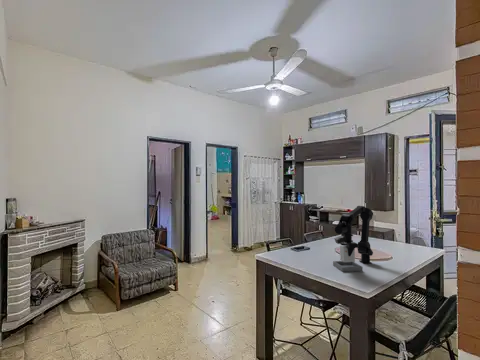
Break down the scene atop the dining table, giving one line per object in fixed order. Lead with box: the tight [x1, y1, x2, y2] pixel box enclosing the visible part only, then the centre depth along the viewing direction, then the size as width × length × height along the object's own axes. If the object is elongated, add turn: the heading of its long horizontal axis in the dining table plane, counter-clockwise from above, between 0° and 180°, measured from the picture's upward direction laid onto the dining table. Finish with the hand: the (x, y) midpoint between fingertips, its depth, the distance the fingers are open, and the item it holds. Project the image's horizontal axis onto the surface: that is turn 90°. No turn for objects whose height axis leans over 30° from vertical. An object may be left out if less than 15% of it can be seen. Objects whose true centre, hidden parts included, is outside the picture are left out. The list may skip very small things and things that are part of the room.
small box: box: [339, 244, 356, 263], centre depth 180 cm, size 8×6×10 cm
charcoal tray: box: [332, 260, 363, 273], centre depth 180 cm, size 14×14×3 cm
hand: (347, 255), depth 180 cm, fingers closed on small box, 6 cm apart
